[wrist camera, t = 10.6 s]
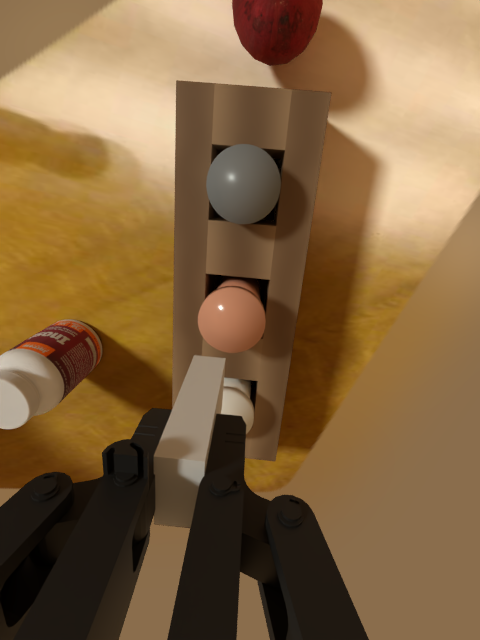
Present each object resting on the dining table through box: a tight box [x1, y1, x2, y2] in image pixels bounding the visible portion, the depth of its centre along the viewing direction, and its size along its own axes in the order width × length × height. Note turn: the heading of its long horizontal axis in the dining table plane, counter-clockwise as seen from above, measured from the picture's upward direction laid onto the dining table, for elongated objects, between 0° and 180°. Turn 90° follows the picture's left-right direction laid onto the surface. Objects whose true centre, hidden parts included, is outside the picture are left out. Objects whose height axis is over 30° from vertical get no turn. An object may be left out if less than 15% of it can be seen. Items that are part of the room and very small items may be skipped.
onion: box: [232, 0, 323, 66], centre depth 22 cm, size 6×6×8 cm
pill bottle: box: [0, 319, 102, 429], centre depth 31 cm, size 6×6×11 cm
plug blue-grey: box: [206, 144, 281, 224], centre depth 25 cm, size 5×5×8 cm
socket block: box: [172, 80, 331, 461], centre depth 30 cm, size 10×30×6 cm, turn 175°
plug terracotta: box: [198, 275, 266, 353], centre depth 27 cm, size 5×5×8 cm
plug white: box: [221, 377, 254, 434], centre depth 32 cm, size 5×5×8 cm
